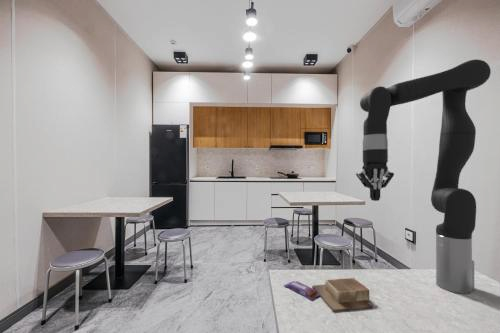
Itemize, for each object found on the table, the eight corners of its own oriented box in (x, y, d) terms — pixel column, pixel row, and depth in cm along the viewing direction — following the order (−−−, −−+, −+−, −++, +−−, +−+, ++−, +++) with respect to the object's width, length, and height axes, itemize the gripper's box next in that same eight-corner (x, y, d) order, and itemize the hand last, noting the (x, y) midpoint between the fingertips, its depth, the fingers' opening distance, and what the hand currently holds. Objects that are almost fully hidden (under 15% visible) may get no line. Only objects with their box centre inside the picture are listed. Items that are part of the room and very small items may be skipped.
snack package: (283, 282, 82) (293, 278, 85) (283, 288, 82) (293, 284, 85) (311, 296, 73) (321, 291, 76) (311, 303, 73) (321, 297, 76)
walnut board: (345, 284, 83) (345, 283, 83) (372, 308, 69) (372, 305, 69) (312, 287, 81) (312, 285, 81) (333, 311, 67) (333, 309, 67)
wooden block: (353, 277, 80) (325, 279, 79) (369, 289, 72) (337, 292, 71) (353, 287, 80) (325, 289, 79) (369, 299, 72) (338, 302, 71)
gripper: (384, 150, 87) (384, 198, 87) (350, 149, 85) (350, 199, 84) (401, 148, 79) (401, 201, 79) (363, 147, 77) (364, 202, 77)
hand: (375, 200), depth 82 cm, fingers closed
